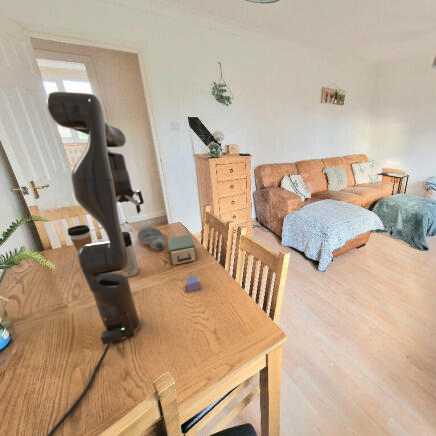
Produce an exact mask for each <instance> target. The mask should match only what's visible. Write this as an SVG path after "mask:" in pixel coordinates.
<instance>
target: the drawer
mask: <svg viewBox="0 0 436 436" xmlns="http://www.w3.org/2000/svg"><path fill="white" fill-rule="evenodd" d="M195 251H196V250H195ZM195 251H194V247H193V248H192V247H189V248H184V249H179V250H174V251H172V252H171V256H172V261H173V265H172V266H175V265H180V264H185V263H188V262H189V263H190V262H193V261H197V260H196V259H197V258H196V259H195Z"/></svg>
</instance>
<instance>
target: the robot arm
mask: <svg viewBox="0 0 436 436" xmlns="http://www.w3.org/2000/svg"><path fill="white" fill-rule="evenodd" d="M46 108H47V110H48V114H49V115H50V117H51V118H52V120H53V121H54V122H55V123H56V124H57V125H59V126H60V127H62V128H66V129H70V130H74V131H76V132H79V133H82V134H84V135H87V136H88V139H87V143H86V146H85V149H84V150H83V153H82V154H81V155H80V157H79V159H78V161H76V163H75V165H74V166H73V169H72V172H71V176H70V178H71V184H72V189H73V190H72V191H73V195H74V198H75V201H76V202H77V203H78V205H80V207H81V208H82V209H83V210H85V212H87V213H88V214H89V215H90V216H91V217H92V218H93V219H95V220H96V222H97V223H98V224H99V225H100V226H101V227H102V228H103V231H105V234H106V236H107V239H108V241H103V242H102V241H101V242H95V243H92V244H88V245H84V246H82V247H81V248H80V250H79V254H78V253H77V254H78V255H77V258H78V259H77V260H78V265H79V268H80V270H81V272H82V274H83V277H84V278H85V281H86V283H87V286H88V288H89V290H90V292H91V293H92V296H93V299H94V301H95V304H96V307H97V308H96V309H97V310H98V313H99V317H100V320H101V322H102V325H103V329H104V330H105V331H102V332H101V336H100V340H101V343H102V345H103V346H104V345H106V347H105V349H104V350H103V353H102V355H101V357H100V359H99V360H98V362H97V365H96V366H95V368H94V371H93V373H92V375H91V378H89V382H87V385H86V387H85V389H84V390H83V391H82V393H81V394H80V395H79V397H78V398H77V399H76V401H75V402H74V403H73V404H72V406H71V407H70V408H69V409H68V410H67V412H65V414H64V415H63V416H62V417H61V418H60V420H59V421H58V422H57V424H55V426H54V427H53V428H52V430H51V431H49V433H48V434H47V435H46V436H53V434H54V433H55V432H56V431H57V430H58V428H59V427H60V426H61V425H62V424H63V423H64V421H65V420H66V419H67V417H68V416H69V415H70V414H71V413H72V412H73V411H74V409H75V408H76V407H77V406H78V405H79V403H80V402H81V401H82V399H83V398H84V397H85V395H86V394H87V392H88V391H89V390H90V388H91V385H92V384H93V382H94V380H95V377H96V374H97V373H98V370H99V369H100V366H101V365H102V363H103V360H104V359H105V357H106V354H107V353H108V351H109V348H110V346H111V344H113V343H117V342H120V341H123V340H127V339H129V338H132V337H135V333H136V332H137V331H139V329H140V327H141V321H140V319H139V315H138V311H137V307H136V304H135V301H134V297H133V294H132V290H131V286H130V282H129V279H128V278H129V277H126V276H125V275H123V274H122V273H117V272H121V270H123V269H125V268H126V267H127V263H128V256H127V251H126V246H125V242H124V238H123V234H122V232H123V230H122V227H121V222H120V218H119V209H118V203H129V202H131V203H133V204H134V205H135V209H136V214H137V215H139V214H140V213H141V211H142V209H141V205H143V204H144V202H145V201H144V197H143V194H142V190H140V189H137V190H133V188H132V182H131V179H130V175H129V171H128V168H127V164H126V159H125V156H124V155H123V154H122V153H119V152H113V151H111V150H110V149H109V148H122V147H124V146H125V145H126V143H127V139H126V134H124V132H123V131H122V130H121V129H120V128H118V127H115V126H113V125H110V124H109V123H107V121H105V114H104V109H103V106H102V104H101V101H100V99H99V98H98V97H97V96H96V95H95V94H93V93H87V92H70V91H69V92H68V91H52V92H50V93H48V94H47V96H46ZM134 196H137V197H138V200H139V201H138V200H137V199H136V198H135V197H134Z"/></svg>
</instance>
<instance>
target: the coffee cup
mask: <svg viewBox="0 0 436 436" xmlns="http://www.w3.org/2000/svg"><path fill="white" fill-rule="evenodd" d="M90 231H91V229H90V227H89V226H88V225H87V224H83V225H82V224H81V225H75V226H71V227H69V228H67V235H68V236H69V237H70V240H71V242H72V244H73V246H74V248H75V250H76V252H77V254H79V250H80V248H81V247H82V246H84V245H88V244H93V242H92V236H91V233H90Z"/></svg>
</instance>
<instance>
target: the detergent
mask: <svg viewBox="0 0 436 436" xmlns="http://www.w3.org/2000/svg"><path fill="white" fill-rule="evenodd" d="M137 239H138V241H140V242H142V243H143V244H145V245H149V247H150V248H152V249H153V250H155V251H159V250H162V249H163V248H164V247H165V245H166V240H165V239H166V235H165V234H164V233H163V232H161V230H159V229H158V228H156V227H153V226H145V227H142V228H141V229H140V230H139V231H138V232H137Z"/></svg>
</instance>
